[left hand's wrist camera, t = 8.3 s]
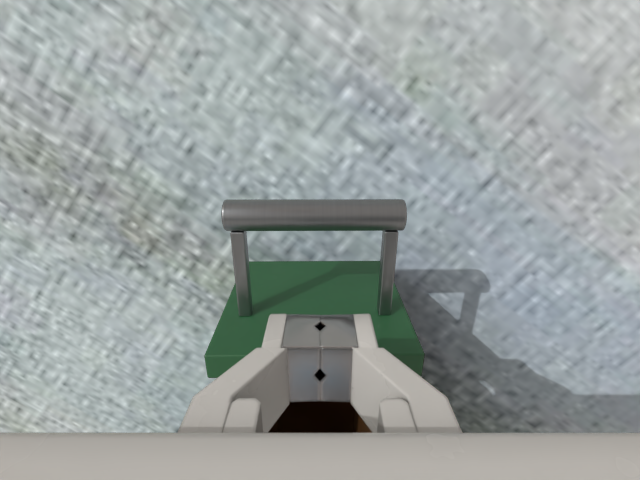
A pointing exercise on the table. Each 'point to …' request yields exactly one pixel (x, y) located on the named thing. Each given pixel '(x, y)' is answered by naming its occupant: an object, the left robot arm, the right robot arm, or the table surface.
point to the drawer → (313, 293)
